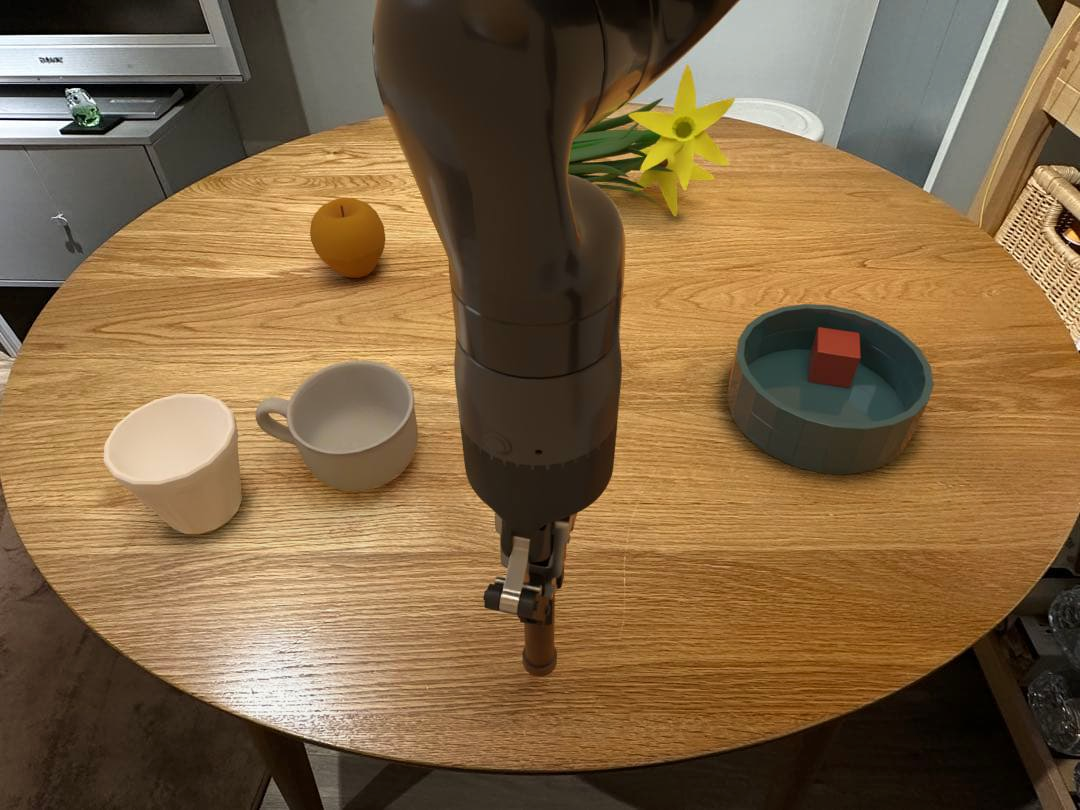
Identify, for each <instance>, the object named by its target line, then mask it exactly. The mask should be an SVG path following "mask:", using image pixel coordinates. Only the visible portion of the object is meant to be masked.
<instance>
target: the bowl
mask: <svg viewBox="0 0 1080 810" xmlns="http://www.w3.org/2000/svg"><path fill="white" fill-rule="evenodd" d="M818 327H822V328H829V329H835V330H842V331H849V332H856V333H859V334H860V357H861V359H860V361H859V364H858V367H857V369H856V372H855V375H854V378H853V380H852V383H851V386H850V388H844V387H838V386H832V385H826V384H820V383H813V382H809V381H808V374H809V355H810V352H811V349H812V345H813V342H814V339H815V335H816V332H817V329H818ZM934 385H935V384H934V378H933V372H932V367H931V363H930V362H929V361H928V359H927V358H926V356H925V355H924V353H923V352H922V349H921V348H919V347H918V346H917V344H915V343H914V342H913V341H912V340H911V339H910V338H909V337H907V336H906V335H905V333H903V332H902V331H900V330H899V329H897V328H896V327H894V326H892V325H890V324H889V323H887V322H885V321H883V319H882V320H881V319H879V318H876V317H874V316H872V315H869V314H866V313H863V312H861V311H858V310H854V309H850V308H846V307H842V306H841V307H840V306H836V305H830V304H816V303H815V304H812V303H802V304H794V305H788V306H787V305H786V306H781V307H778V308H775V309H772V310H770V311H767V312H764V313H762V314H759V316H757V317H756V318H755V319H753V320H752V321H751V322H749V323H748V324H747V325H746V326H745V328H744V329H743V331H742V333H741V334H740V336H739V337H738V339H737V343H736V348H735V352H734V357H733V362H732V366H731V369H730V376H729V380H728V388H727V393H726V395H727V397H726V399H727V407H728V409H729V412H730V416H731V418H732V419H733V421H734V423H735V425H736V426H737V428H738V429H739V430H740V431H741V433H742V434H743V435H744V436H745V437H746V439H748V441H750V443H752V444H754V445H755V446H756V447H757V448H758V449H760V450H761V451H762V452H764V453H766V454H767V455H769V456H771V457H773V458H775V459H776V460H779V461H780V462H783V463H785V464H788V465H790V466H792V467H796V468H799V469H802V470H806V471H811V472H814V473H815V472H816V473H821V474H828V475H853V474H861V473H866V472H870V471H873V470H876V469H879V468H881V467H883V466H886V465H887V464H889V463H891V462H892V461H894V460H895V459H897V458H898V457H899V455H901V454H902V453H903V451H904V450H905V449H906V447H907V446H908V444H909V443H910V441H911V440H912V437H913V435H914V433H915V431H916V429H917V426H918V424H919V422H920V420H921V418H922V416H923V414H924V412H925V410H926V408H927V406H928V403H929V402H930V398H931V395H932V392H933V390H934Z"/></svg>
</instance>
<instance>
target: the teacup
mask: <svg viewBox="0 0 1080 810" xmlns="http://www.w3.org/2000/svg"><path fill="white" fill-rule="evenodd" d="M270 414H277V415H280V416H281V417H283V418H285V419H286V424H287V425H285V424H283V423H281V422H279V421H277V420H276V419H275V418H273V417H272V416H271V415H270ZM255 421H256V424H257V425H258V427H259V428H260V430H262V431H263V432H264V433H266V434H267V435H269V436H271V437H273V438H275V439H276V440H280V441H281V442H285V443H288V444H290V445H294V447H296V448H297V450H298V453H299V455H300V457H301V459H302V461H303V463H304V465H305V467H306V468H307V470H308V471H309V473H310V474H311V475H312V476H313V477H314V478H315V479H316V480H317V481H319V482H320V483H322V484H324V485H325V486H327V487H329V488H332V489H335V490H337V491H342V492H352V493H353V492H354V493H355V492H356V493H357V492H365V491H371V490H374V489H377V488H379V487H383V486H385V485H386V484H389V483H390V482H391V481H393V480H394V479H396V478H397V477H398V476H400V475H401V474H402V473H403V472H404V471H405V470H406V469H407V467H408V466H409V465H410V464H411V461H412V460H413V458H414V455H415V453H416V450H417V447H418V439H419V437H418V435H419V434H418V421H417V415H416V407H415V393H414V390H413V387H412V385H411V383H410V382H409V380H408V379H407V378H406V377H405V375H403V374H402V373H401V372H400V371H398V370H397V369H396V368H395V367H392V366H390V365H388V364H385V363H382V362H379V361H373V360H365V359H363V360H361V359H356V360H348V361H347V360H346V361H342V362H337V363H333V364H331V365H328V366H326V367H324V368H321V369H319V370H317V371H316V372H313V373H312V374H311V375H310V376H308V377H307V378H306V379H304V380H303V381H302V382H301V383H300V384H299V386H298V387H297V388H296V390H295V391H294V392H293V394H292V395H291V396H290V398H289V399H285V398H281V397H274V396H273V397H272V396H271V397H267V398H265V399H263V400H262V401H261V402H260V403H258V405H257V407H256V410H255Z"/></svg>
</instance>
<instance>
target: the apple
mask: <svg viewBox="0 0 1080 810" xmlns="http://www.w3.org/2000/svg"><path fill="white" fill-rule="evenodd" d="M384 225H385V224H383V222H382V219H381V217H380V216H379V213H378V211H376V209H374V208H373V207H372V206H371V205H370V204H368V202H365V201H362V200H360V199H357V198H355V197H354V198H353V197H341V198H335V199H333V200H331V201H328V202H327V203H324V204H322V206H321V207H319V209H318V210H317V211H316V212H315V213H314V215H313V216H312V219H311V222H310V229H309V236H310V237H309V238H310V242H311V245H312V246H313V247H312V248H313V249H314V251H315V253H316V254H317V255H318V257H319V258H320V259H321V261H322V262H323V263H324V264H325V265H326V266H328V268H330V269H331V270H332V271H333V272H335V273H337V274H338V275H340V276H343V277H346V278H350V279H351V278H354V279H360V278H365V277H367V276H368V275H370V274H371V273H372V272H373V271H374V269H375V268H376V266H377V265H378V263H379V261H380V258H381V257H382V254H383V252H384V250H385V245H386V232H385V226H384Z"/></svg>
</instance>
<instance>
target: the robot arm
mask: <svg viewBox="0 0 1080 810" xmlns="http://www.w3.org/2000/svg"><path fill="white" fill-rule="evenodd" d="M740 1H741V0H376V4H375V8H374V16H373V22H372V37H371V38H372V44H371V52H372V54H371V55H372V62H373V71H374V79H375V82H376V87H377V90H378V94H379V98H380V101H381V103H382V106H383V108H384V111H385V113H386V117H387V119H388V122H389V124H390V126H391V129H392V130H393V133H394V135H395V137H396V139H397V142H398V144H399V146H400V147H399V148H400V149H401V151H402V153H403V155H404V158H405V160H406V162H407V165H408V167H409V170H410V172H411V174H412V176H413V179H414V181H415V184H416V185H417V187H418V190H419V192H420V193H419V194H420V195H421V198H422V200H423V202H424V205H425V208H426V210H427V212H428V214H429V217H430V219H431V221H432V224H433V226H434V228H435V230H436V233H437V235H438V237H439V240H440V241H441V244H442V246H443V249H444V251H445V255H446V257H447V260H448V274H449V284H450V293H451V300H452V301H451V302H452V310H453V320H454V327H455V328H454V329H455V330H454V332H455V347H454V358H453V359H454V361H453V363H454V364H453V365H454V366H453V369H454V383H455V385H454V386H455V392H456V401H457V410H458V419H459V426H460V436H461V437H460V438H461V444H462V445H461V446H462V455H463V462H464V470H465V474H466V478H467V481H468V483H469V485H470V487H471V489H472V490H473V492H474V493H475V494H476V496H477V497H478V498H479V499H480V500H481V501H482V502H483V503H484V504H485V505H486V506H487V507H489V508H490V509H491V510H492V511H493V512H494V528H495V531H496V532H497V534H499V544H500V546H499V551H500V564H501V565H502V566H503V567H504V568H505V569H506V572H505V577H503V576H495V578H494V581H493V583H489V584H488V586H487V589H486V590H484V593H483V601H484V602H483V603H484V604H483V607H484V609H487V610H490V611H495V612H500V613H504V614H509V615H512V616H513V615H514V616H517V618H518V619H519V622H520V623H521V624H524V623H525V624H530V625H534V626H539V627H544V625H551V624H552V622H553V618H554V614H555V615H556V594H557V590H559V589H561V588H562V586H563V582H564V580H565V562H566V558H567V547H568V545H569V544H570V542H571V533H572V532H573V531H574V528H575V524H576V520H577V516H578V513H580V512H582V511H583V510H586V509H587V508H588V507H590V506H591V505H593V504H594V503H595V502H596V501H597V500H598V499H599V498H600V497H601V496H602V494H603V493H604V492H605V490H606V489H607V488H608V486H609V484H610V481H611V478H612V476H613V471H614V466H615V454H616V444H617V433H618V432H617V431H618V421H619V410H620V400H621V399H620V397H621V388H622V377H623V375H622V374H623V363H622V361H623V359H622V348H621V339H620V337H621V336H620V334H621V331H620V330H621V318H622V309H623V297H624V296H623V295H624V284H625V271H626V270H625V269H626V268H625V267H626V233H625V228H624V223H623V218H622V215H621V213H620V211H619V208H618V207H617V205H616V203H615V202H614V200H613V199H612V198H611V197H610V196H609V195H608V193H607V192H605V190H604V189H601V188H599V187H598V186H596V185H595V184H596V183H594V182H593V183H591V182H589V181H587V180H585V179H582V178H579V177H577V176H573V175H570V174H568V165H569V157H570V151H571V146H572V142H573V140H574V139H575V138H577V137H578V136H580V135H581V134H583V133H584V132H586V131H587V130H589V129H590V128H592V127H593V126H595V125H596V124H598V123H599V122H603V121H604V120H605V119H607V118H608V117H609V116H611V115H613V114H614V113H616V112H617V111H619V110H620V109H621V108H623V107H624V106H626V105H627V104H628V103H630V102H631V101H633V100H634V99H635V98H637V97H638V96H639V95H641V94H642V93H643V92H645V91H646V90H647V89H648V88H650V86H652V85H654V84H655V82H656V81H658V80H659V79H660V78H662V77H663V76H664V75H665V74H666V73H667V72H668V71H669V70H671V69H672V68H673V67H674V66H676V64H677V63H678V62H679V61H681V59H682V58H684V57H685V56H686V55H687V54H688V53H689V52H690V51H691V50H692V49H694V47H695V46H697V45H698V44H699V43H700V42H701V41H702V40H703V39H704V38H705V37H706V36H707V35H708V34H709V33H710V32H711V31H712V30H713V29H714V28H715V27H716V26H717V25H718V24H719V23H720V22H721V21H722V20H723V19H724V18H725V17H726V15H728V13H730V12H731V10H732V9H734V7H735V6H737V4H738V3H739V2H740ZM533 573H534V574H533ZM538 574H539V575H538Z"/></svg>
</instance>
